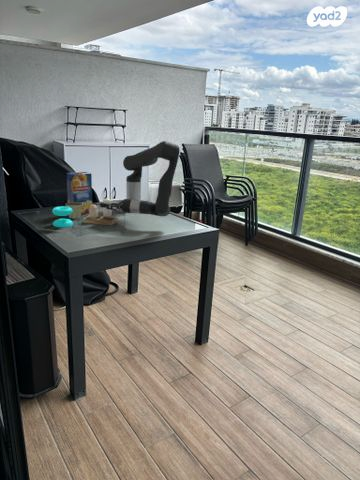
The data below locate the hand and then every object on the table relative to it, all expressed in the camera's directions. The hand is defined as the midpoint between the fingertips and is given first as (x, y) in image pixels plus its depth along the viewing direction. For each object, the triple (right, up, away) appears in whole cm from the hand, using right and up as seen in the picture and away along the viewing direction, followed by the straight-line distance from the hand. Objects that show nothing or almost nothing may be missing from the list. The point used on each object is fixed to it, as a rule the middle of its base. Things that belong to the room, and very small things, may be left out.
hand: (102, 204), depth 199 cm
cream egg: (+2, -6, +1) cm, 7 cm away
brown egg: (-6, -9, +4) cm, 11 cm away
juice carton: (-18, -4, +22) cm, 29 cm away
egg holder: (-2, -10, +4) cm, 11 cm away
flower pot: (-18, -8, +11) cm, 22 cm away
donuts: (-20, -12, -5) cm, 24 cm away
